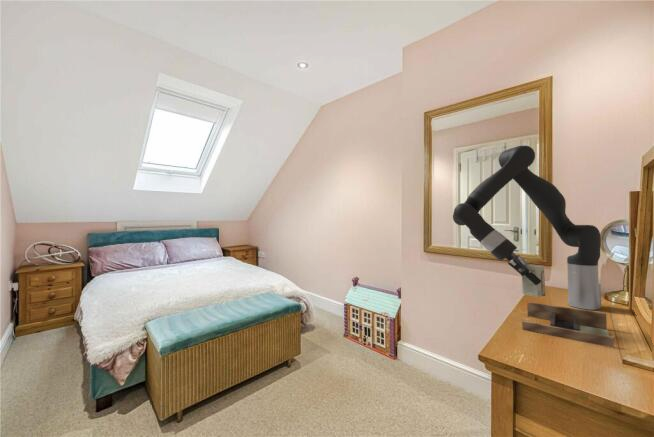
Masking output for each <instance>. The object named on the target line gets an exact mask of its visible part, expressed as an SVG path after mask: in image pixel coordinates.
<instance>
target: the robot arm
mask: <svg viewBox="0 0 654 437" xmlns="http://www.w3.org/2000/svg"><path fill="white" fill-rule="evenodd" d="M535 159H536V152H535V150H534V149H533V148H532V147H531V146H529V145H518V146H517V145H516V146H515V147H512V148H508V149H506V150H504V151H502V152H501V153H500V154H499V156H498V163H499V166H500V168H499V169H498V170H497V171H496V172H494V173H492V174H491V175H490V176H488V177H487V178H486V179H484V180H483V181H482V182H480V183H479V184H478V185H477V186H476V187H475V188H474V189H473V191H471V192H470V193H469V195H468V196H467V199H466V200H465V201H464V202H463V203H458V204H457V205H456V206H455V207H454V208H453V209H454V210H453V213H452V219H453V223H455V224H456V225H458V226H466V228H468V230H469V233H470V234H471V236H472V237H473V238H475V239H476V240H477V241H478V242H479V243H480V244H481V245H482V246H483V248H484V249H486V250H487V251H488V252H489V253H490V254H491V255H492V256H494V258H496V260H498V261H499V262H501V261H503V260H505V259H506V260H507V261H508V262H507V265H508V266H510V267H511V268H512V269H514V270H515V271H516V272H517V273H519V274H520V275H521V277H522V276H525V277H527V278H528V279H529V280H530V281H531V282H533V283H534V284H535V285H538V284H539V283H541V280H540V279H539V278H538V277H537V276H536V275H534V274H533V273H531V270H529V269H528V268H527V265H531V264H530V263H529V262H528V261H527V260H526V259H525V258H524V257H522V256H521V255H520V254H516V253H515V251H516V250H517V248H518V247H517V245H515V244H514V243H513V242H512V241H510V240H509V239H508V238H507V237H506V236H505V235H504V234H502V233H501V232H499V231H498V230H496V228H494V227H493V226H492V225H491V224H489V223H488V222H487V221H486V220H485V219H484V217H483V216H482V215H481V214H480V213H479V212H480V211H481V210H482V208H484V207H485V206H486V205H487V204H488V203H489V202H490V201H491V200H492V199H493V198H494V197H495V196H496V195H497V194H498V193H499V192H500V191H501V189H503V188H504V187H505V186H506V185H508V184H509V183H510V182H511V181H512V180H514V181H515V183H516V184H517V185H518V186H519V187H520V188H521V190H523V192H524V193H525V194H526V195H527V196H528V197H529V199H530V200H531V201H532V203H533V204H534V205H535V206H536V207H537V208H538V210H539V211H540V212H541V213H542V214H543V215H544V217H545V218H546V219H547V220H548V222H549V223H550V224H551V226H552V228H554V230H555V232H556V234H557V235H558V237H559V238H560V240H561V241H562V242H563V243H564V244H565V245H566V246H569V247H572V248H577V249H578V250H577V252H576V253H575V254H573V255H569V256H567V258H566V261H567V262H566V264H567V298H568V299H567V300H568V304H567V305H569V306H571V307H572V308H575V309H580V310H588V311H595V310H600V309H602V285H601V283H599V282H600V281H599V260H600V257H601V245H602V244H601V243H602V237H601V233H600V230H599V229H598V227H597V226H595V225H592V224H574V222H572V220H570V219H569V217H568V215H567V214H566V208H567V207H566V204H567V203H566V202H567V201H566V198H565V196H564V195H563V194H562V193H561V191H560V190H559V189H558V188H557V186H555V185H554V184H553V183H551V182H550V181H548V180H546V178H545V179H544V178H543V177H541V176H539V175H536V174H535V173H533V172H532V171H531V170H530V169H529V167H531V165H532V164H533V163H534V162H535ZM523 270H524V271H523Z"/></svg>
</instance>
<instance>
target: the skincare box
mask: <svg viewBox="0 0 654 437" xmlns="http://www.w3.org/2000/svg"><path fill="white" fill-rule="evenodd" d="M527 268H528V269H529V270H531V273H533V274H534V275H536V276H537V277H538V278H539V279H540V280H541V283H539V284H538V285H535V284H534V283H533V282H531V281H530V280H529V279H528V278H527V277H525V276H522V275H521V288H522V292H521V293H522V295H526V296H531V297H535V298H540V297H546V282H545V281H546V278H545V277H546V276H545V266H544V265H537V264H530V265H527ZM523 271H524V270H523Z"/></svg>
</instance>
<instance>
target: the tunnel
mask: <svg viewBox="0 0 654 437" xmlns="http://www.w3.org/2000/svg"><path fill="white" fill-rule="evenodd" d="M526 306H527V317H530V316H532V318H535V319H542V320H548V321H550V323H549V324H541V323H537V322H531V321H525V320H522V322H521V323H522V326H521V327H522V328H521V329H522V330H523V329H524V330H525V331H529V332H535V333H539V334H545V335H549V336H553V337H559V338H563V339H569V340H573V341H574V340H575V341H578V342H584V343H589V344H594V345H600V346H604V347H609V348H614V340H615V339H614V337H613V336H610V333H609V330H608V329H607V328H608V327H607V326H608V325H607V321H608V319H607V313H606V312H600V311H595V310H588V309H581V308H575V307H572V308H571V307H564V306H558V305H552V304H545V303H537V302H532V301H531V302H530V301H527V305H526Z"/></svg>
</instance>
